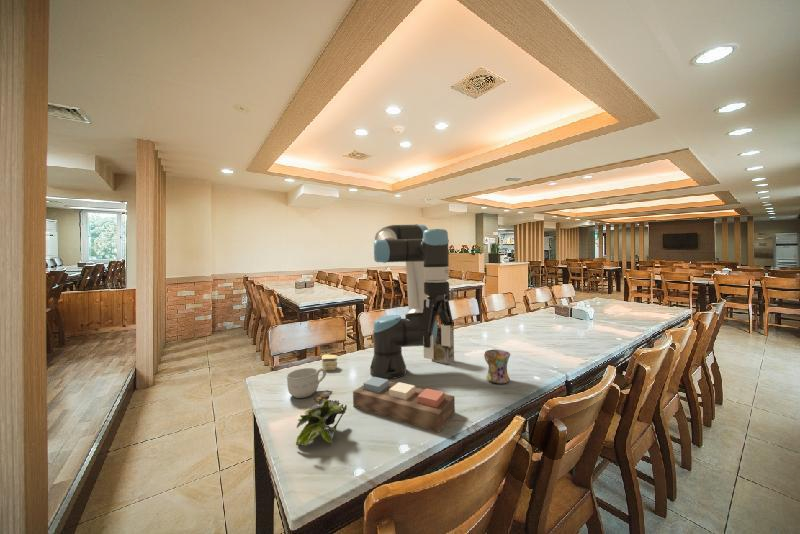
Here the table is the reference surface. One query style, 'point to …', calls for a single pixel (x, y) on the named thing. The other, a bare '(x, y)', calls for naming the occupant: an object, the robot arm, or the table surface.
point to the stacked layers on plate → (329, 362)
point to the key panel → (405, 407)
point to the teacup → (304, 381)
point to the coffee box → (443, 348)
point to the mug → (497, 365)
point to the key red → (431, 398)
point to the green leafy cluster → (320, 420)
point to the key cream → (402, 391)
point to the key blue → (376, 384)
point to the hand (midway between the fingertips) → (437, 351)
